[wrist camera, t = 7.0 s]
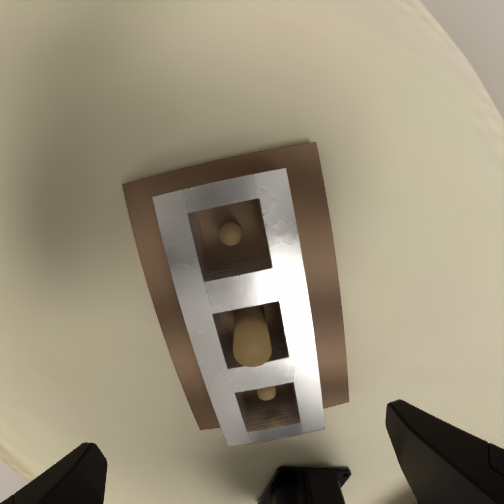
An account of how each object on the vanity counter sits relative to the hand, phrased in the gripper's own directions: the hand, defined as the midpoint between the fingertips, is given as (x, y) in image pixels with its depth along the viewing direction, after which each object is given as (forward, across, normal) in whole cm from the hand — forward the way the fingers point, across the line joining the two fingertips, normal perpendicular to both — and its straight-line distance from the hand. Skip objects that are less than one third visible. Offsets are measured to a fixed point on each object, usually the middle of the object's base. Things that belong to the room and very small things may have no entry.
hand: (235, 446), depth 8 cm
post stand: (+10, -1, 0) cm, 10 cm away
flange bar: (+9, -1, 0) cm, 9 cm away
